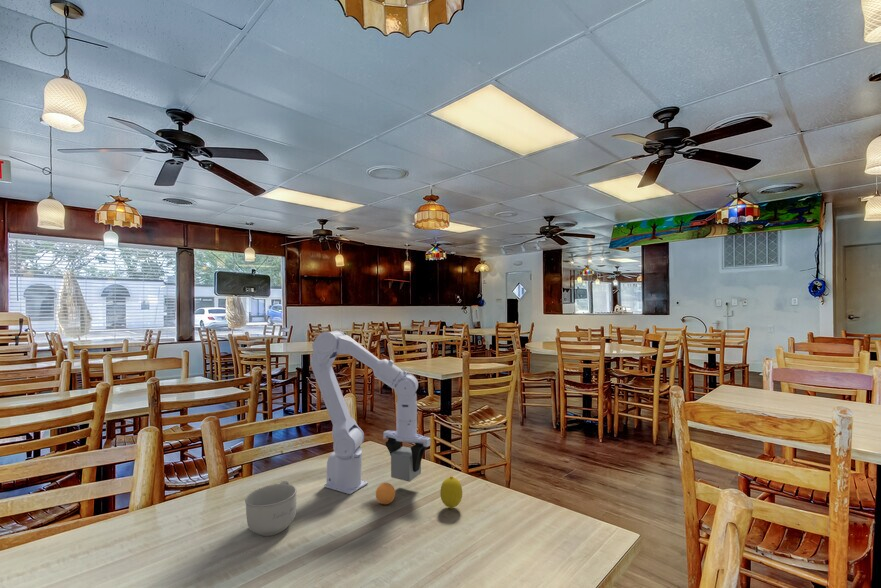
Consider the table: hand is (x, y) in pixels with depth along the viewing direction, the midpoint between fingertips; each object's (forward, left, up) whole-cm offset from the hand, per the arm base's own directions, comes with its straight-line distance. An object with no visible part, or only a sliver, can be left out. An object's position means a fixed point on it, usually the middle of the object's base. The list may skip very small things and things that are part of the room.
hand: (406, 468), depth 113 cm
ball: (0, -10, -3) cm, 10 cm away
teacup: (-16, -31, -6) cm, 35 cm away
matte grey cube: (0, 0, -2) cm, 2 cm away
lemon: (+16, -4, -6) cm, 17 cm away
